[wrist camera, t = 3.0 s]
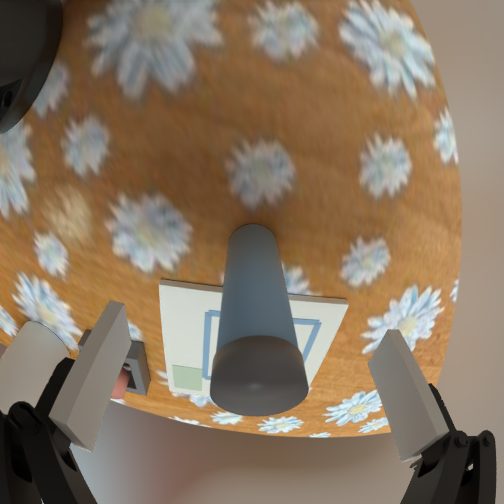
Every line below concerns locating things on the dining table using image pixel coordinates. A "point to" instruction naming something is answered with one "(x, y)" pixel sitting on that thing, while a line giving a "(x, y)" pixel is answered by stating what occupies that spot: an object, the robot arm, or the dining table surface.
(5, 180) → the dining table surface
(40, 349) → the cup
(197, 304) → the board
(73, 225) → the dining table surface
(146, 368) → the button housing
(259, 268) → the marker
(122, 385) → the button
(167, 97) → the dining table surface
